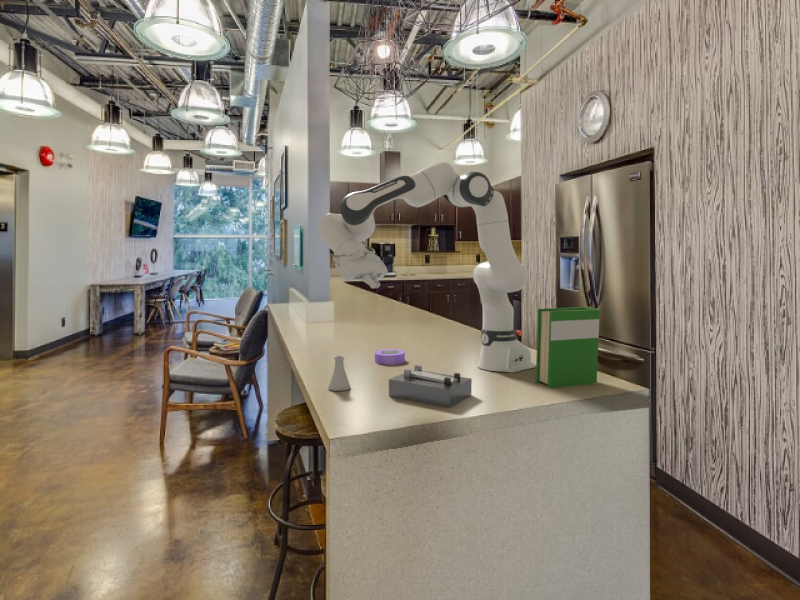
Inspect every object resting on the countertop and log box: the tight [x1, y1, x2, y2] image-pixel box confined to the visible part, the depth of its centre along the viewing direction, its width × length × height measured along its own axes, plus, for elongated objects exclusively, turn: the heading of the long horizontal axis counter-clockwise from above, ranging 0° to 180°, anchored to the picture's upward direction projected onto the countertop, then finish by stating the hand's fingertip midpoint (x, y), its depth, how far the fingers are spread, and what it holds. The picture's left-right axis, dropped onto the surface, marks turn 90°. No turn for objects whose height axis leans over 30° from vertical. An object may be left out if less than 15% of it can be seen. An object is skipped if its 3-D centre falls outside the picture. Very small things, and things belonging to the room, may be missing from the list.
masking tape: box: [374, 348, 406, 366], centre depth 186 cm, size 12×12×4 cm
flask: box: [327, 355, 351, 392], centre depth 148 cm, size 7×7×10 cm
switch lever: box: [411, 369, 458, 384], centre depth 140 cm, size 15×4×1 cm, turn 57°
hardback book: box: [535, 306, 601, 389], centre depth 154 cm, size 18×7×24 cm, turn 107°
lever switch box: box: [388, 364, 472, 409], centre depth 141 cm, size 20×14×8 cm
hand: (376, 286), depth 148 cm, fingers closed
